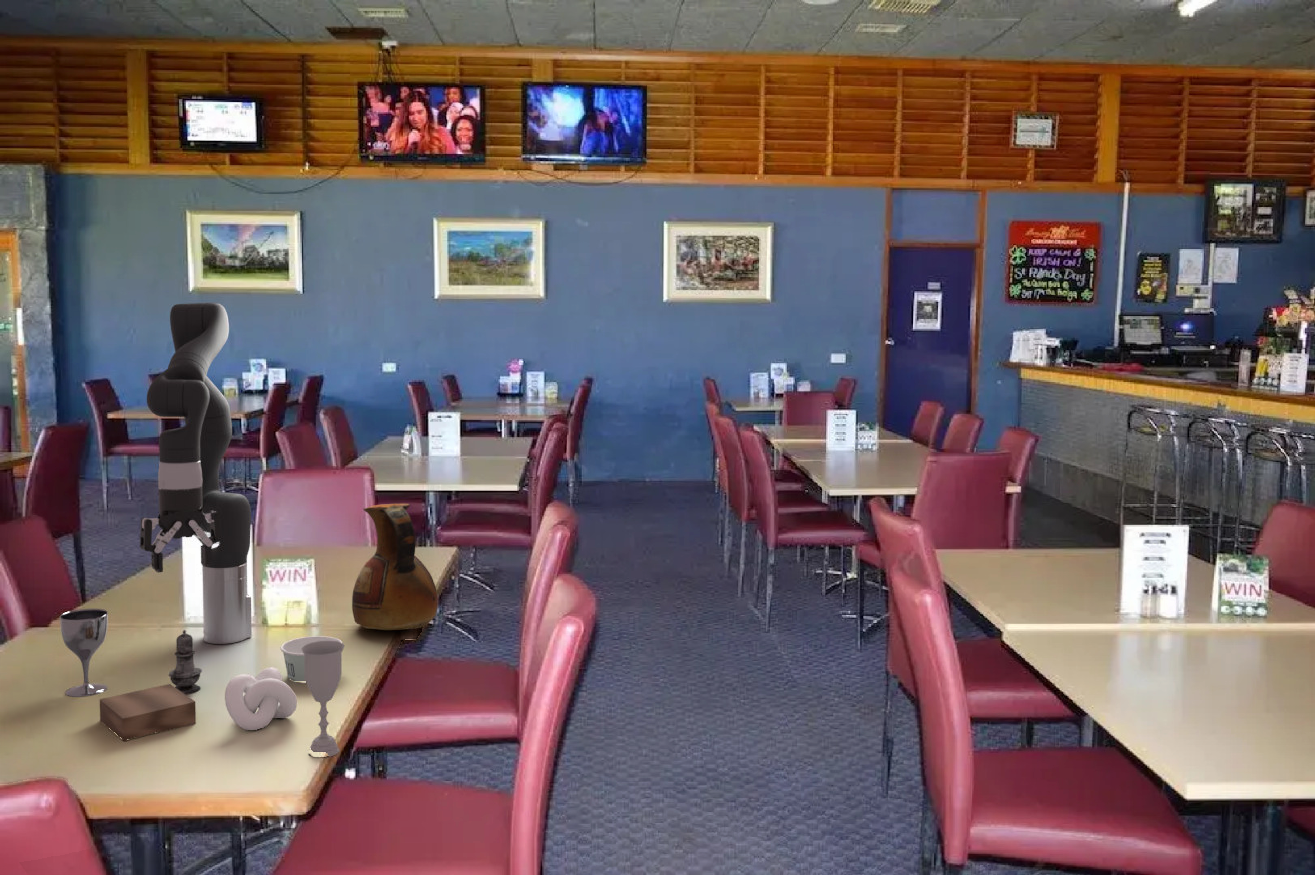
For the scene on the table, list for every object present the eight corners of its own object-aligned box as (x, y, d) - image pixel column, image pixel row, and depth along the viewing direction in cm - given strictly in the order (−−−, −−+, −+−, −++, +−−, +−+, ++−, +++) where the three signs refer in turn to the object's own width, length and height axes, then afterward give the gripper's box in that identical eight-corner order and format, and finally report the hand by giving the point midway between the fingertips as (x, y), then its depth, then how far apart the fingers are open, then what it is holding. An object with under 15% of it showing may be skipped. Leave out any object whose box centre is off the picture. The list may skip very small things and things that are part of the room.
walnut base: (170, 704, 190) (169, 684, 189) (195, 723, 181) (195, 701, 181) (100, 721, 181) (99, 699, 181) (123, 741, 173) (122, 718, 172)
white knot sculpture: (250, 742, 174) (250, 691, 173) (207, 726, 180) (206, 677, 180) (305, 721, 184) (304, 673, 183) (262, 707, 190) (261, 660, 189)
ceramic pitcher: (411, 611, 255) (411, 493, 252) (453, 630, 240) (454, 505, 237) (337, 625, 242) (336, 501, 239) (377, 646, 227) (377, 514, 224)
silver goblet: (61, 700, 190) (58, 622, 189) (63, 686, 198) (61, 611, 196) (109, 694, 194) (107, 617, 193) (110, 680, 201) (108, 606, 200)
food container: (354, 676, 208) (354, 645, 207) (298, 690, 199) (298, 658, 198) (324, 662, 216) (324, 632, 215) (269, 675, 207) (269, 644, 206)
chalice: (308, 743, 174) (307, 640, 172) (349, 742, 175) (348, 640, 173) (297, 761, 167) (296, 654, 165) (339, 760, 168) (339, 654, 166)
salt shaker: (189, 696, 194) (187, 635, 193) (162, 693, 195) (160, 632, 194) (208, 686, 200) (207, 626, 198) (182, 683, 201) (180, 624, 200)
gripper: (210, 479, 201) (212, 559, 202) (133, 485, 191) (135, 570, 192) (226, 484, 196) (227, 566, 197) (147, 490, 185) (149, 577, 187)
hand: (182, 568), depth 195 cm, fingers open, 8 cm apart
